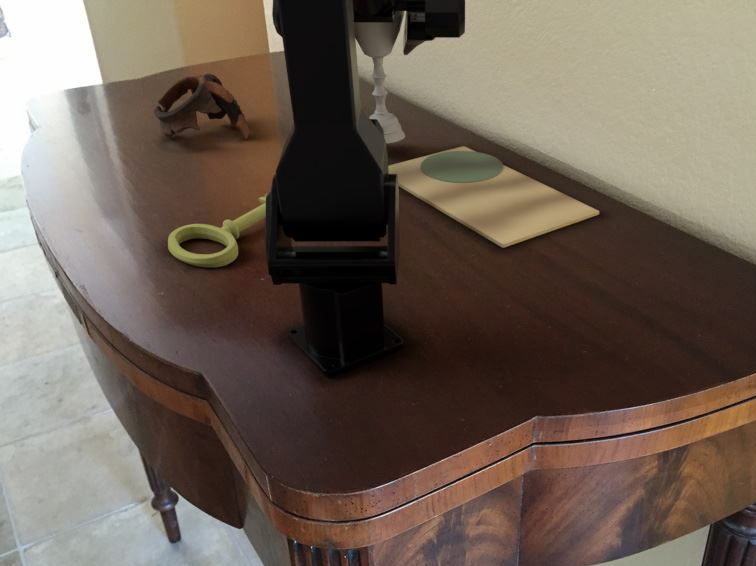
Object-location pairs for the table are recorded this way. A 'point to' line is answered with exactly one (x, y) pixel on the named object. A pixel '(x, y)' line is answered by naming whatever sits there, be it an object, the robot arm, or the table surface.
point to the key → (214, 238)
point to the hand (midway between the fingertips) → (378, 51)
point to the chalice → (381, 68)
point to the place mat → (488, 195)
